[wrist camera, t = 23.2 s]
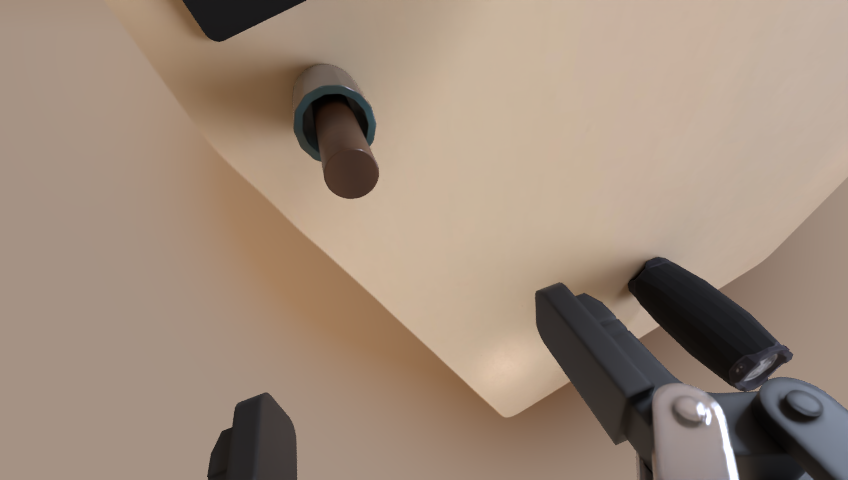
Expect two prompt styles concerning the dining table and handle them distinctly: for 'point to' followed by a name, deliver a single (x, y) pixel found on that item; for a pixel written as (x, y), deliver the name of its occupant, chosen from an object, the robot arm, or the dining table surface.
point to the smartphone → (234, 14)
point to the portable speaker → (709, 324)
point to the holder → (321, 83)
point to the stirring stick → (343, 148)
